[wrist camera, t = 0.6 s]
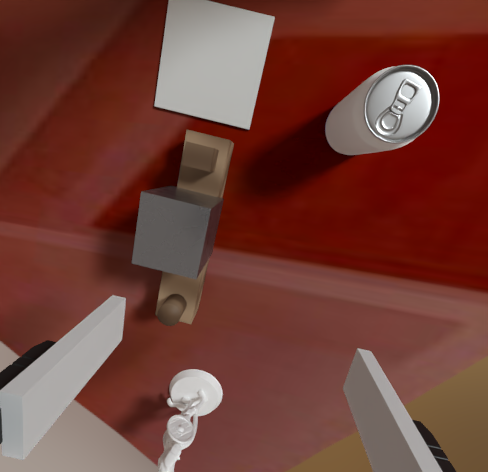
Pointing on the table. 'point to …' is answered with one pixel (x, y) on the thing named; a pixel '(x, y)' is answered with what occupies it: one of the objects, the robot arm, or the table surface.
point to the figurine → (187, 412)
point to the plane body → (203, 181)
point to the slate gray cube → (176, 230)
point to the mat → (212, 61)
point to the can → (384, 111)
